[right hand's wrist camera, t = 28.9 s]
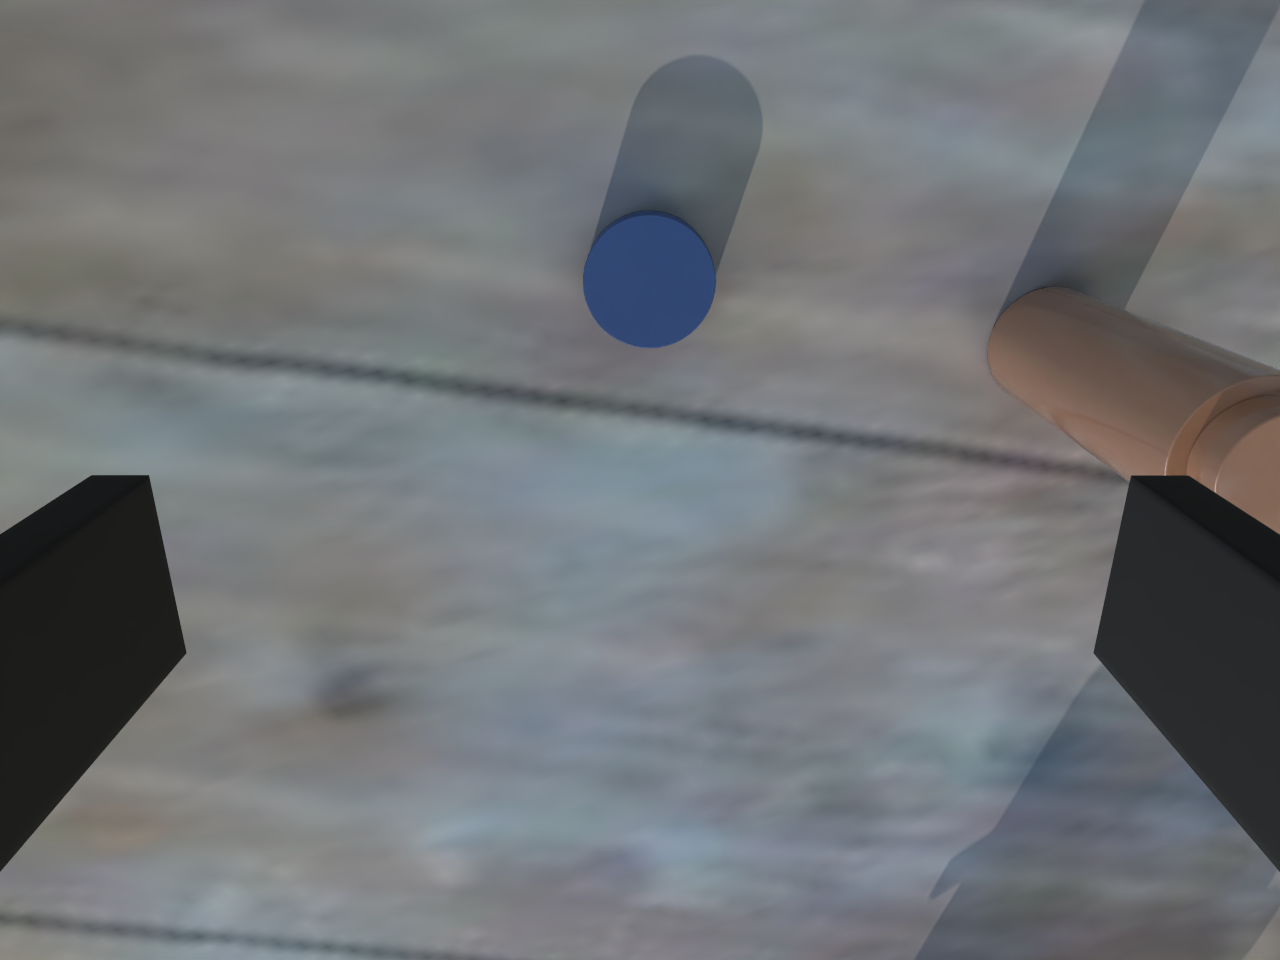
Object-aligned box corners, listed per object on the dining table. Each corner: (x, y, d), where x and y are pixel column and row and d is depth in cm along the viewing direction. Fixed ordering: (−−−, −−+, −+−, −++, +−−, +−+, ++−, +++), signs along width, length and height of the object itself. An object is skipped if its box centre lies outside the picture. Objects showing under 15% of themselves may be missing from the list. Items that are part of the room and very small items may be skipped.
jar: (1042, 422, 39) (1271, 594, 25) (963, 354, 38) (1155, 493, 24) (1129, 335, 38) (1424, 464, 23) (1049, 261, 37) (1308, 351, 22)
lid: (647, 181, 35) (648, 184, 34) (738, 274, 37) (743, 281, 35) (559, 278, 37) (555, 284, 35) (650, 364, 38) (650, 374, 37)
